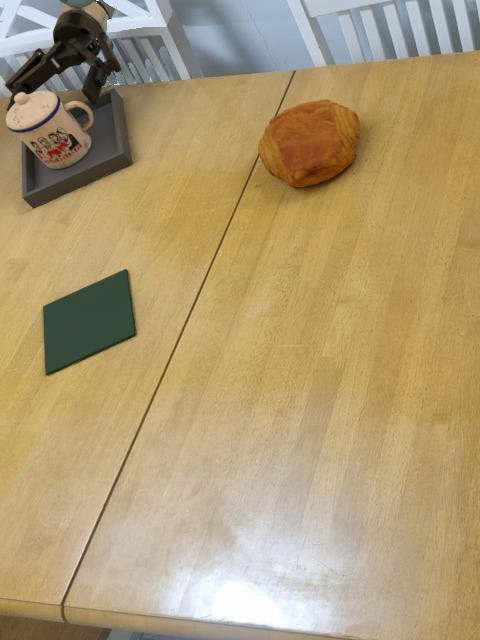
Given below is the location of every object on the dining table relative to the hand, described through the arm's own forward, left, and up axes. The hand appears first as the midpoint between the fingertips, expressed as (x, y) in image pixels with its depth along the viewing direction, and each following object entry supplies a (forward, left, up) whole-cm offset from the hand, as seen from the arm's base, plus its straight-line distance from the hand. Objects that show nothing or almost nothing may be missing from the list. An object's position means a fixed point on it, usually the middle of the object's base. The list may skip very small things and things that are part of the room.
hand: (51, 107), depth 119 cm
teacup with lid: (+1, -2, -7) cm, 8 cm away
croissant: (+47, -5, -8) cm, 47 cm away
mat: (+22, -36, -8) cm, 43 cm away
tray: (+1, -2, -8) cm, 8 cm away
